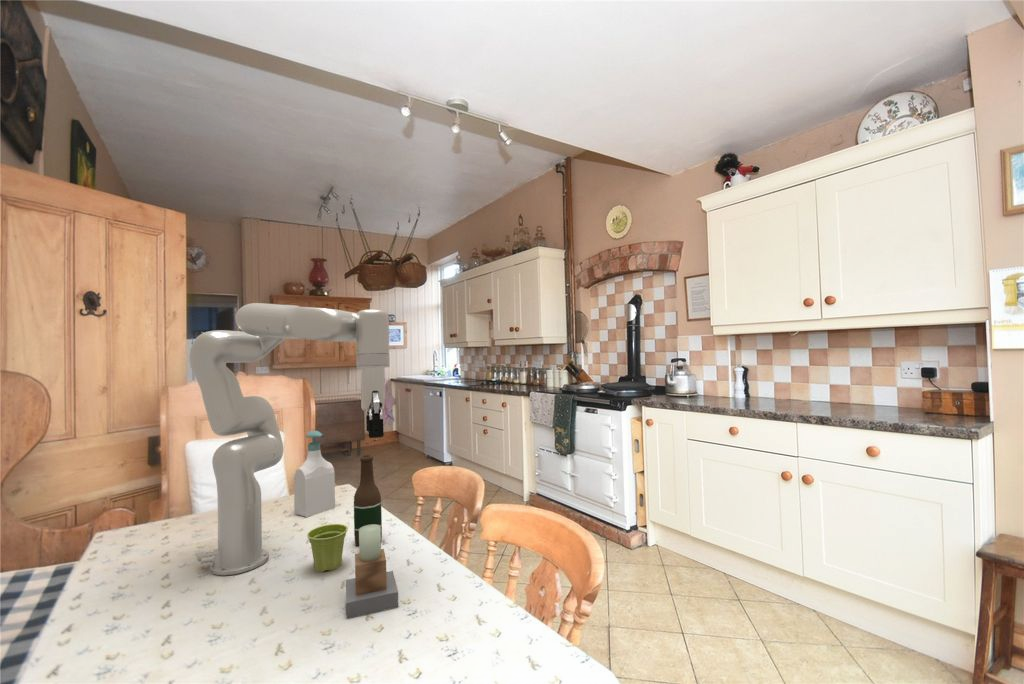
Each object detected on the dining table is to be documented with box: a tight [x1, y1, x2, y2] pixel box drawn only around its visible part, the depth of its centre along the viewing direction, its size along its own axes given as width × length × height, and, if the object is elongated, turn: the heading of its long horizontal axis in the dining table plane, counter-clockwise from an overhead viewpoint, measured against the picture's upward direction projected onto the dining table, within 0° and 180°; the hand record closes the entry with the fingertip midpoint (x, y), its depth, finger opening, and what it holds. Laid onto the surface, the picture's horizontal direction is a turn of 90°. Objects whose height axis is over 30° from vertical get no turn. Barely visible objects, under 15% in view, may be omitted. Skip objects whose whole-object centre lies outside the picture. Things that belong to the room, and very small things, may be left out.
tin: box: [358, 524, 382, 562], centre depth 94 cm, size 4×4×6 cm
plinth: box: [345, 570, 399, 620], centre depth 93 cm, size 10×10×3 cm
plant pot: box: [306, 523, 349, 572], centre depth 110 cm, size 9×9×9 cm
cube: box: [354, 548, 387, 596], centre depth 94 cm, size 6×6×6 cm
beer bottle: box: [353, 454, 383, 548], centre depth 124 cm, size 8×8×24 cm
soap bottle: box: [293, 430, 336, 518], centre depth 151 cm, size 11×8×27 cm
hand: (374, 433), depth 105 cm, fingers open, 9 cm apart
